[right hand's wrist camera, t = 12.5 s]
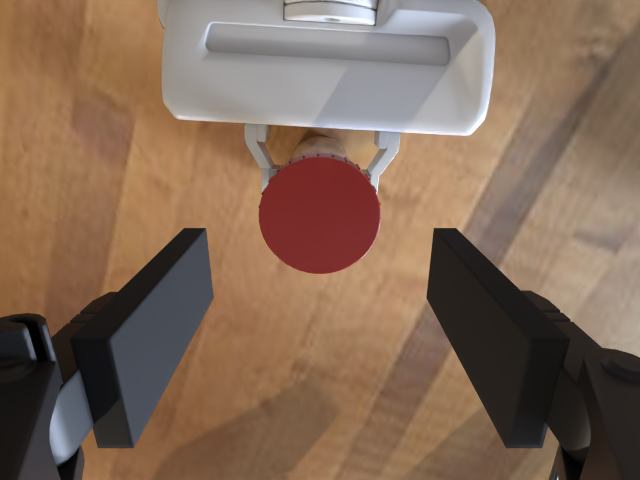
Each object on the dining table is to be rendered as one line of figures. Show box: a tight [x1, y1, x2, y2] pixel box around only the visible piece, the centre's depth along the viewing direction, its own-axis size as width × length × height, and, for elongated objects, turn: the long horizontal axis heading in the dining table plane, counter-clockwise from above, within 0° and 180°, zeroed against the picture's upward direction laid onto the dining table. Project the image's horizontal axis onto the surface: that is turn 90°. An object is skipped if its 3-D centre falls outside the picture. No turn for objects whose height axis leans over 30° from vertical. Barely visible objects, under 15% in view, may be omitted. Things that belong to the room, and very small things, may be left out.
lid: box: [259, 151, 381, 274], centre depth 20 cm, size 6×6×2 cm
